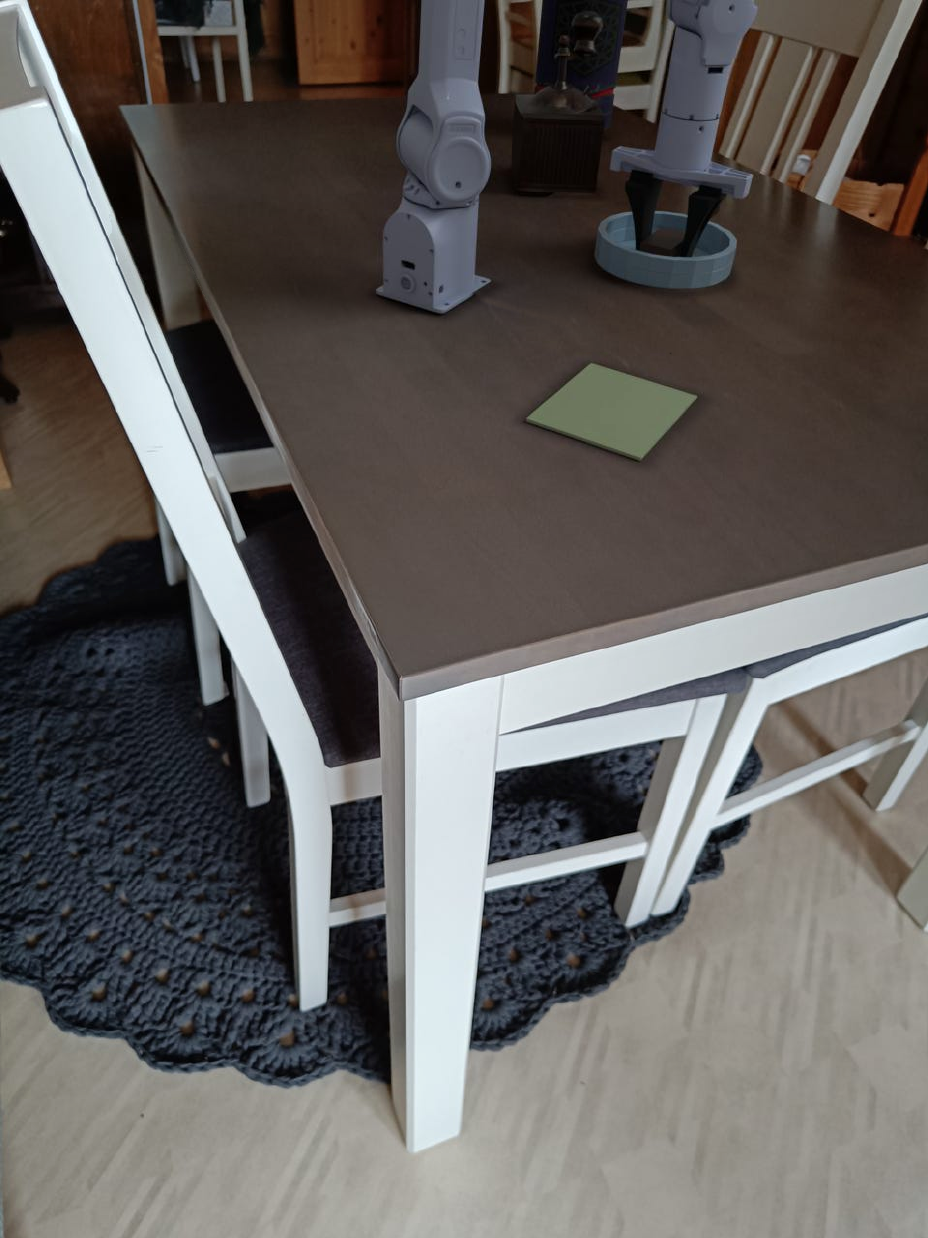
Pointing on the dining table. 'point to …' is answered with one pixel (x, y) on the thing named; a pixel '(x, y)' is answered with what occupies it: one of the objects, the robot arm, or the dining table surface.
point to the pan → (664, 271)
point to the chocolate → (663, 242)
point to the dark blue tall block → (557, 21)
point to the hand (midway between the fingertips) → (663, 253)
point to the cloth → (613, 410)
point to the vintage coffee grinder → (559, 126)
